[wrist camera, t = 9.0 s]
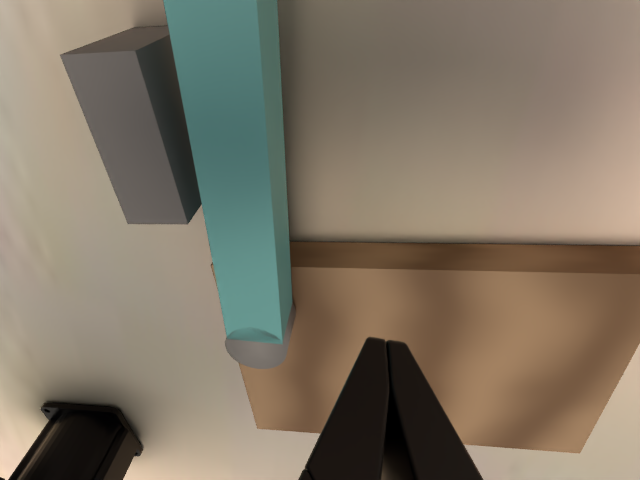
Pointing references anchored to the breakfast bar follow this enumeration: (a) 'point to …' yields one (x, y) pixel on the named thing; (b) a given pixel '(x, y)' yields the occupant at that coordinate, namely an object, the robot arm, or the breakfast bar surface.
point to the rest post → (138, 123)
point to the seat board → (462, 334)
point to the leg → (239, 164)
